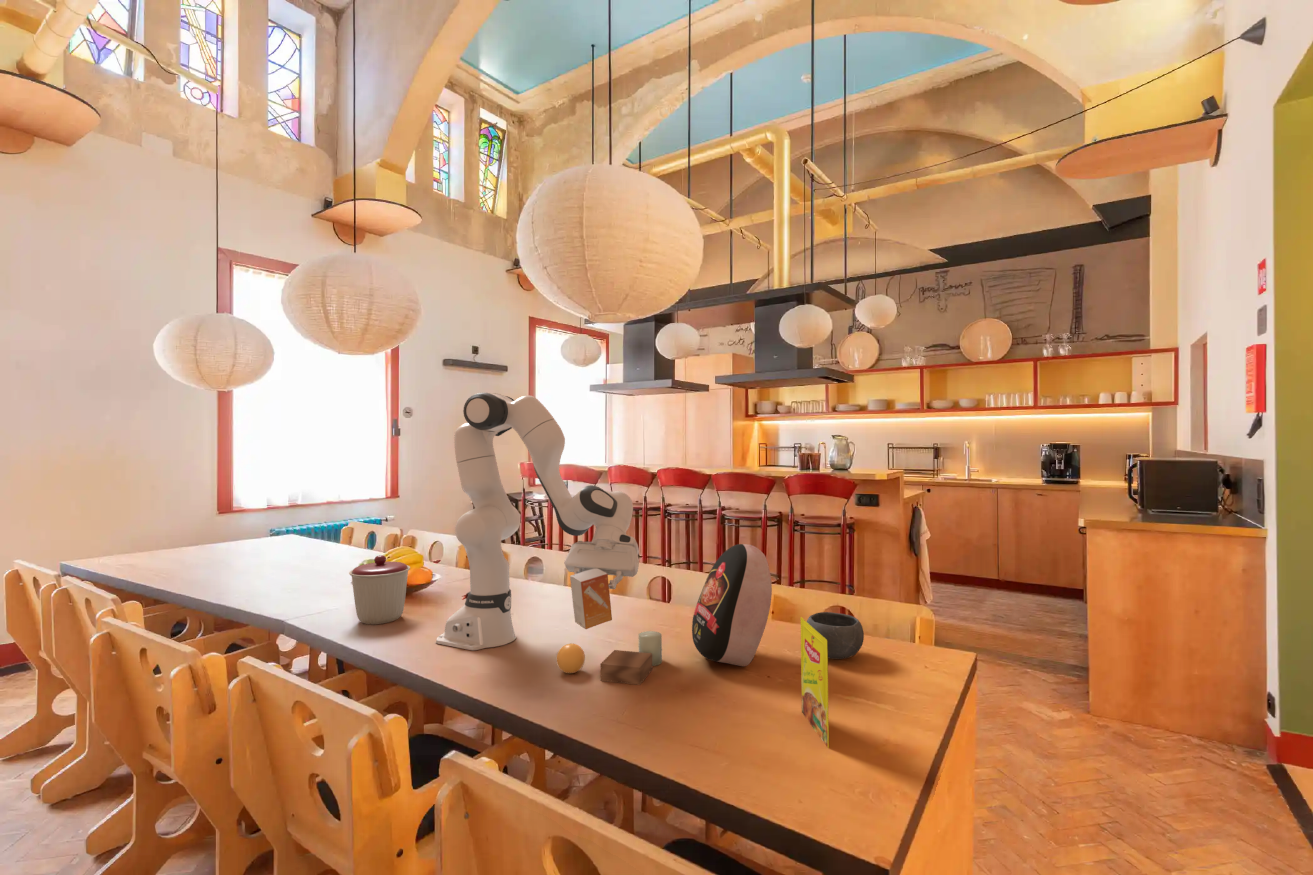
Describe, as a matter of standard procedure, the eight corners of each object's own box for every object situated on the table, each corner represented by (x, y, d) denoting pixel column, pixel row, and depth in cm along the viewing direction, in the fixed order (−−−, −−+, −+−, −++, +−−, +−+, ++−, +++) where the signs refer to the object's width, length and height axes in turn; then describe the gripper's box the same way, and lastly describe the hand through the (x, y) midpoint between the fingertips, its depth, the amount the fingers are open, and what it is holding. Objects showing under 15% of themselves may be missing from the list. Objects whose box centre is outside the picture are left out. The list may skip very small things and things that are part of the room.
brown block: (600, 680, 145) (600, 663, 145) (614, 665, 155) (614, 649, 155) (640, 684, 142) (640, 667, 142) (652, 669, 152) (652, 653, 152)
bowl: (867, 650, 164) (866, 613, 164) (860, 669, 150) (860, 629, 150) (811, 643, 170) (810, 608, 170) (800, 661, 156) (799, 622, 156)
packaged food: (683, 648, 167) (681, 539, 167) (749, 642, 172) (748, 536, 172) (709, 678, 146) (708, 553, 146) (784, 670, 150) (783, 549, 151)
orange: (551, 676, 148) (551, 647, 148) (564, 665, 155) (563, 638, 155) (578, 679, 146) (578, 649, 146) (589, 668, 153) (589, 640, 153)
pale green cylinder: (635, 664, 155) (635, 637, 155) (642, 656, 161) (642, 630, 161) (658, 666, 154) (657, 639, 154) (664, 658, 159) (664, 632, 160)
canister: (396, 609, 210) (396, 548, 210) (420, 619, 198) (419, 554, 198) (341, 620, 197) (340, 555, 197) (362, 632, 185) (361, 563, 185)
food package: (799, 711, 127) (798, 616, 128) (804, 711, 127) (803, 616, 128) (825, 748, 112) (824, 640, 112) (831, 747, 112) (830, 639, 112)
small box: (585, 630, 154) (580, 581, 153) (574, 622, 160) (569, 575, 158) (613, 620, 159) (608, 572, 157) (601, 612, 164) (596, 566, 162)
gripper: (570, 534, 169) (554, 576, 160) (640, 538, 163) (628, 582, 154) (576, 547, 173) (561, 589, 164) (644, 551, 168) (633, 595, 158)
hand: (594, 586), depth 159 cm, fingers closed on small box, 8 cm apart
